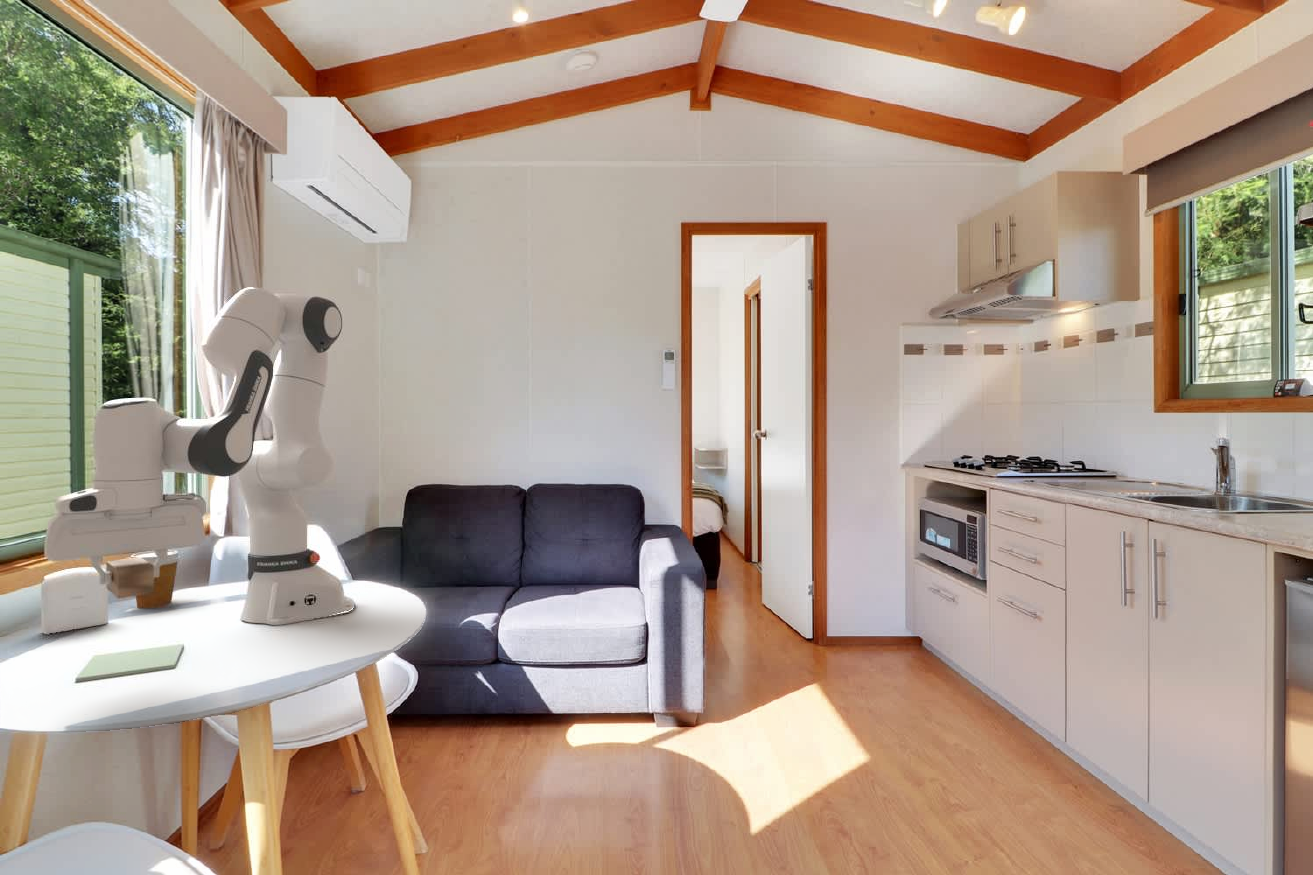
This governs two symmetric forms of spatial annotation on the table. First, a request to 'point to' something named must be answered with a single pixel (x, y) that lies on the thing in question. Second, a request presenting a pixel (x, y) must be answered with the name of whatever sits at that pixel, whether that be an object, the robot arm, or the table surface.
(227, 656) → the table surface
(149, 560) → the disposable coffee cup
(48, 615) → the photo printer
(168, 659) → the rubber mat
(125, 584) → the box
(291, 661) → the table surface
